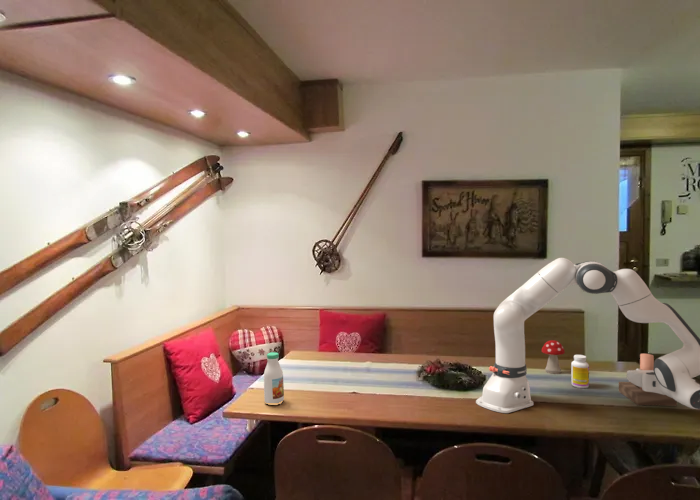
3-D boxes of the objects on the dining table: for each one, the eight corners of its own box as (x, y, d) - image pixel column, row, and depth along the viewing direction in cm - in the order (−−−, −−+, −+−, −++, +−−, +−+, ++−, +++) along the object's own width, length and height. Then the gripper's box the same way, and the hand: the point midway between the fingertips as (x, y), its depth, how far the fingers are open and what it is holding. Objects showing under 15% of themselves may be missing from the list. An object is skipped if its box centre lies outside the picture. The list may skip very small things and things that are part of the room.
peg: (651, 398, 170) (651, 357, 169) (638, 395, 173) (638, 355, 172) (655, 395, 172) (655, 355, 172) (642, 392, 176) (642, 352, 175)
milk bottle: (265, 407, 173) (263, 357, 172) (263, 400, 180) (262, 351, 179) (285, 404, 175) (283, 355, 174) (282, 397, 182) (281, 350, 181)
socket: (676, 405, 165) (677, 395, 165) (637, 405, 167) (637, 394, 166) (655, 391, 179) (655, 382, 179) (618, 391, 180) (618, 381, 180)
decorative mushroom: (560, 369, 209) (560, 338, 209) (567, 375, 201) (567, 342, 200) (539, 369, 210) (538, 338, 210) (545, 375, 202) (545, 342, 201)
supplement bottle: (591, 389, 184) (591, 358, 183) (573, 388, 185) (573, 358, 184) (585, 383, 190) (585, 354, 189) (569, 382, 191) (569, 353, 191)
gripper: (698, 374, 159) (672, 362, 172) (640, 374, 160) (618, 362, 173) (698, 391, 159) (672, 378, 173) (640, 391, 160) (618, 378, 174)
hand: (645, 370), depth 173 cm, fingers closed on peg, 4 cm apart
